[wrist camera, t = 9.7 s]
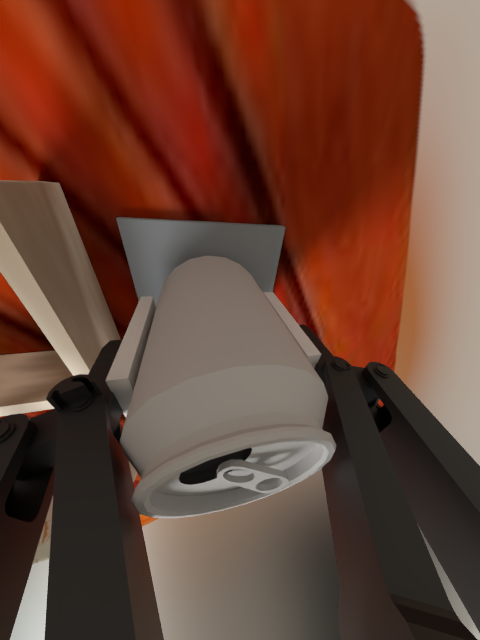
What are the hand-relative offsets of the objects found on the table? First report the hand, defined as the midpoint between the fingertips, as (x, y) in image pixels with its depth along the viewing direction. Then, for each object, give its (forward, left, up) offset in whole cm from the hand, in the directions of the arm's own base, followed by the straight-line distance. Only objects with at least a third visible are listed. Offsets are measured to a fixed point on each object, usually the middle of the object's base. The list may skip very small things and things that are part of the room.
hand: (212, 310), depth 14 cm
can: (0, 0, -2) cm, 2 cm away
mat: (0, 0, -3) cm, 3 cm away
